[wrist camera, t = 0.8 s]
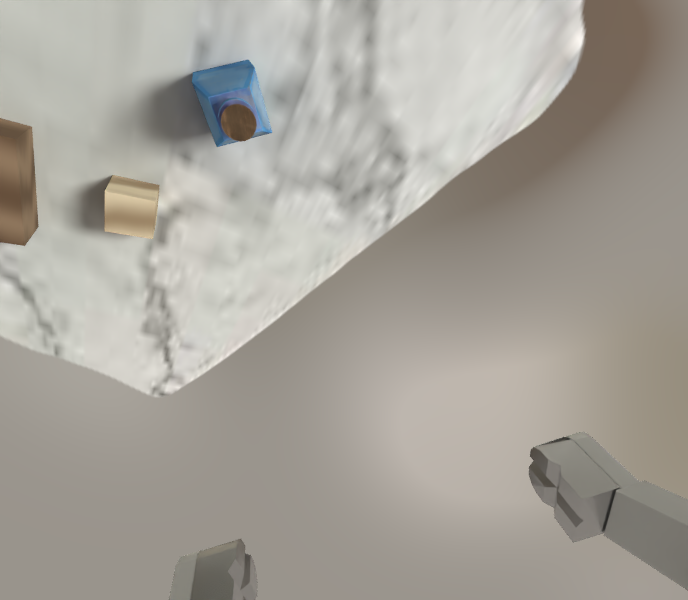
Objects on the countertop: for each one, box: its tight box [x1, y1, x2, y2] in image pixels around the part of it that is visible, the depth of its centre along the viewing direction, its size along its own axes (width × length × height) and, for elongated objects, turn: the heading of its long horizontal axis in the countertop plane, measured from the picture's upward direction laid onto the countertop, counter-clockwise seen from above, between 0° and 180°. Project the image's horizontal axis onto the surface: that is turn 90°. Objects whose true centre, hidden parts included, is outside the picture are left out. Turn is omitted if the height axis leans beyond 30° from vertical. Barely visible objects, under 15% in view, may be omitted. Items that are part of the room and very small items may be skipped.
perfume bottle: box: [192, 60, 272, 147], centre depth 37 cm, size 6×6×12 cm
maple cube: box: [105, 175, 159, 239], centre depth 44 cm, size 5×5×5 cm
